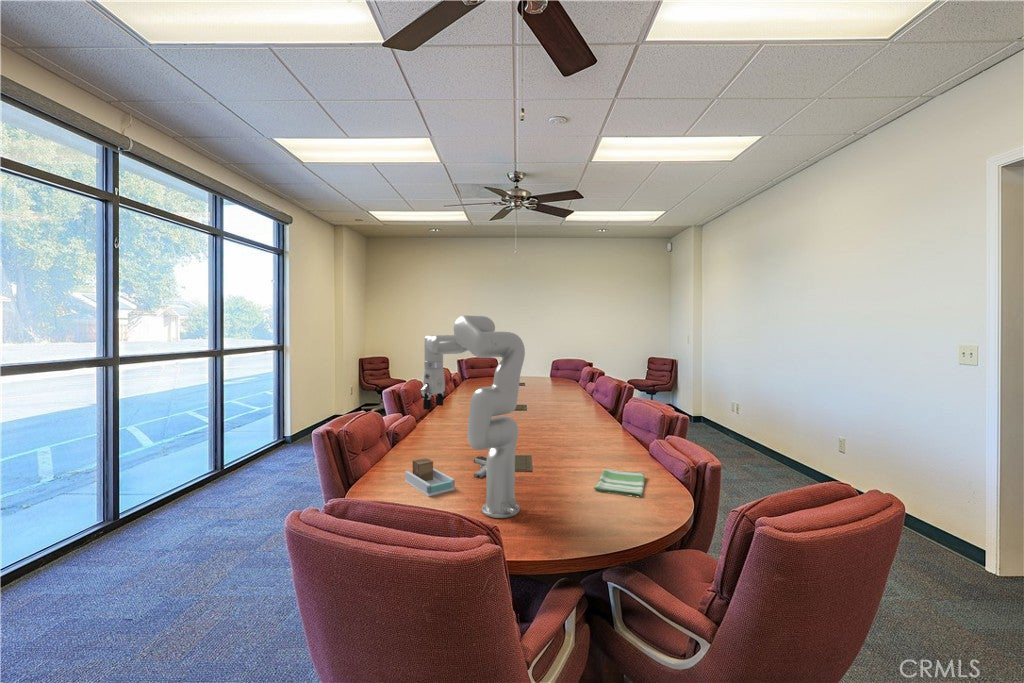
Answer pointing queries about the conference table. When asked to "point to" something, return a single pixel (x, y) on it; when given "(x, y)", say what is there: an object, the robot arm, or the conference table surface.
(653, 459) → the conference table surface
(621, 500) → the conference table surface
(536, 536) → the conference table surface
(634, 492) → the dish towel
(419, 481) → the bay
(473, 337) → the robot arm
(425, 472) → the block
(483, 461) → the pistol
